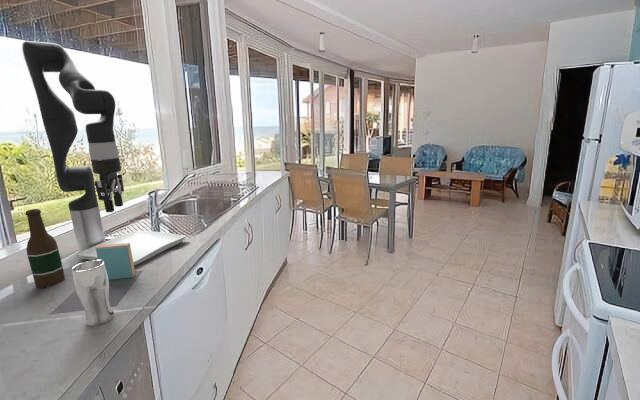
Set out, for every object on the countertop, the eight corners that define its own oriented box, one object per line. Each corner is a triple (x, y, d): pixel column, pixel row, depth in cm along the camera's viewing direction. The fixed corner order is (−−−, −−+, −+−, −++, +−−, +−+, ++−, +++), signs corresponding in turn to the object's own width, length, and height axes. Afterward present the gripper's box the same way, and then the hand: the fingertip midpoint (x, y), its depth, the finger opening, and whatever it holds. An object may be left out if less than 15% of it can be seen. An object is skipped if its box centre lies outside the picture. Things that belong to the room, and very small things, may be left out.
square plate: (75, 263, 119) (73, 253, 118) (138, 237, 144) (136, 229, 143) (132, 272, 110) (130, 261, 109) (188, 243, 135) (187, 234, 134)
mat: (90, 277, 107) (90, 275, 107) (143, 271, 110) (143, 270, 109) (50, 315, 86) (49, 313, 86) (116, 307, 89) (116, 305, 88)
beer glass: (110, 308, 88) (99, 257, 85) (120, 317, 84) (109, 263, 80) (79, 321, 83) (66, 266, 79) (88, 331, 79) (75, 274, 75)
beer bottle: (29, 290, 99) (8, 214, 94) (43, 279, 107) (24, 208, 101) (59, 286, 101) (41, 212, 96) (70, 275, 109) (54, 205, 103)
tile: (105, 277, 105) (98, 245, 102) (135, 274, 107) (129, 242, 104) (101, 281, 103) (94, 248, 100) (132, 278, 104) (126, 245, 102)
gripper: (102, 155, 108) (111, 204, 112) (79, 160, 94) (91, 216, 98) (126, 154, 109) (135, 202, 113) (108, 159, 95) (118, 214, 99)
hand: (114, 208), depth 106 cm, fingers open, 6 cm apart
